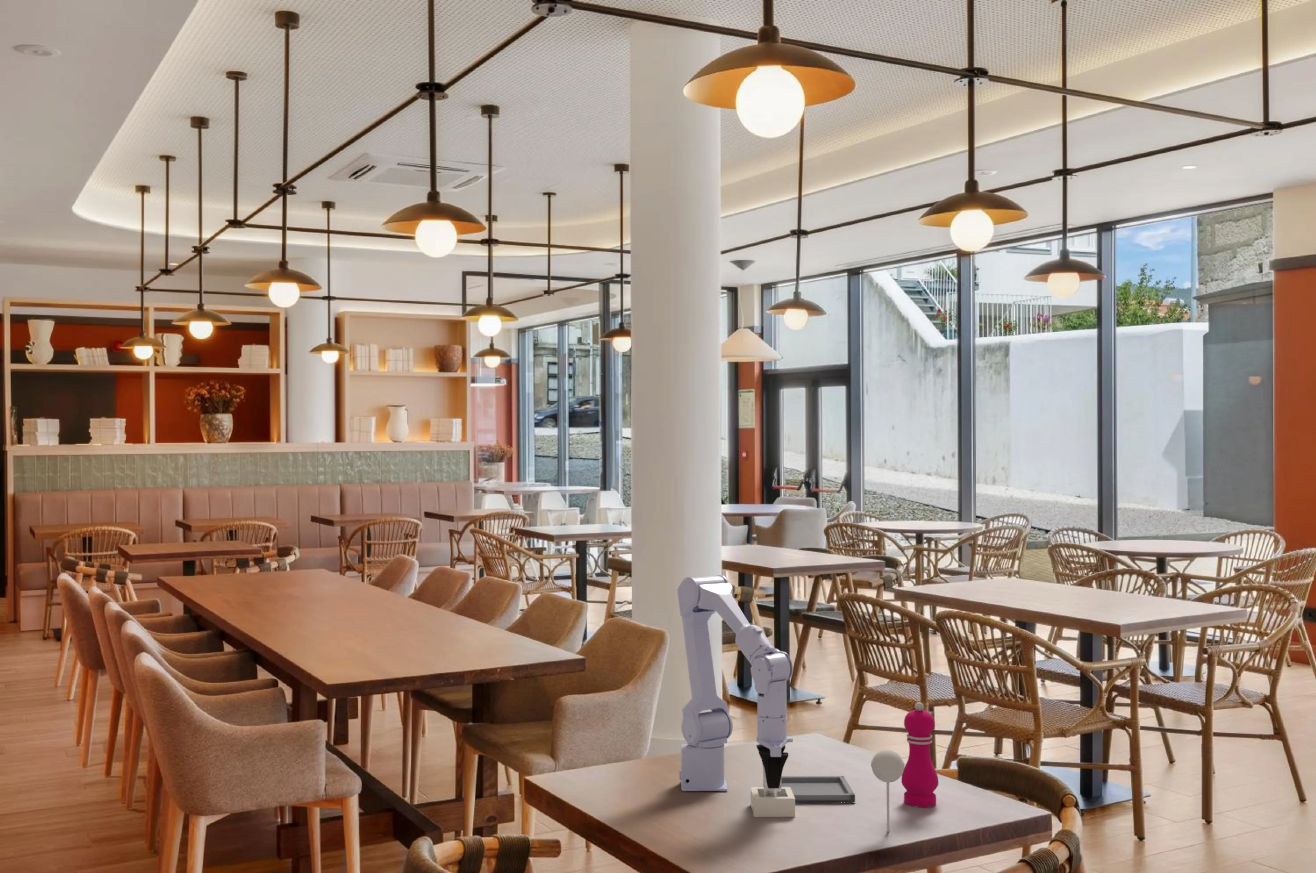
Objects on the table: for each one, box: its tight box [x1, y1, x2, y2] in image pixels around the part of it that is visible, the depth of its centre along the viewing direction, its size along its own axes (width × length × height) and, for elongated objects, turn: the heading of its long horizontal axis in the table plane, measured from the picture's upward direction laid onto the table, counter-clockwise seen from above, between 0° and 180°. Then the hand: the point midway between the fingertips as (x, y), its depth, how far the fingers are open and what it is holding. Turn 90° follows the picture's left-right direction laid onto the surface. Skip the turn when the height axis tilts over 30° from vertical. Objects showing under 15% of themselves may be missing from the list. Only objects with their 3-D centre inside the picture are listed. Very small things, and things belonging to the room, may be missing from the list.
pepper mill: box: [900, 701, 939, 808], centre depth 228 cm, size 7×7×20 cm
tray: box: [781, 775, 856, 804], centre depth 235 cm, size 16×14×2 cm
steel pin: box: [762, 764, 781, 797], centre depth 223 cm, size 4×4×9 cm
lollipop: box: [870, 748, 905, 833], centre depth 210 cm, size 6×6×15 cm
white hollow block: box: [750, 786, 796, 818], centre depth 223 cm, size 8×8×4 cm
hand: (772, 785), depth 223 cm, fingers closed on steel pin, 3 cm apart
